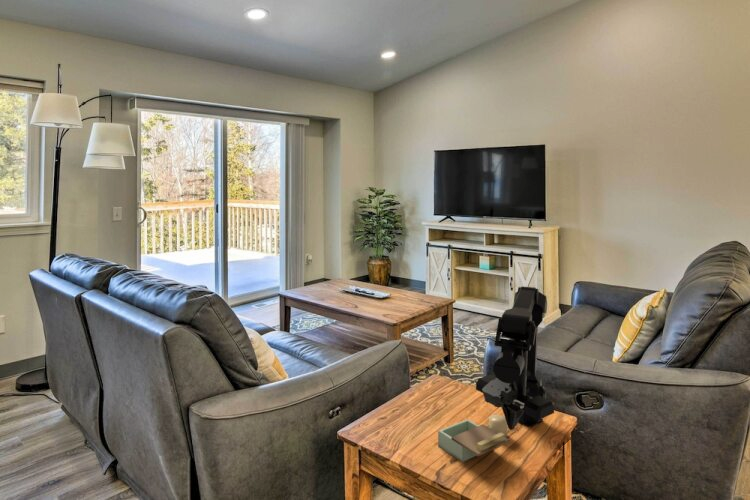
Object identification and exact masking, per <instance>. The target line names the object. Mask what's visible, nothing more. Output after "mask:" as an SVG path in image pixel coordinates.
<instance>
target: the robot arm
mask: <svg viewBox="0 0 750 500" xmlns="http://www.w3.org/2000/svg"><path fill="white" fill-rule="evenodd" d="M547 298H548V297H547V295H545V294H543V293H542V292H540V291H539V289H538V288H536V287H532V286H523V285H522V286H518V289H517V291H516V292H515V293H514V299H513V306H512V308H509V309H506V310H504V311H503V313H502V315H501V317H500V316H499V317H498V321H497V327H496V335H495V339H494V347H501V350H500V353H499V355H498V356H497V358H496V360H495V362H494V363H493V366H492V367H493V368H492V370H493V374H494V375H493V374H488V375H485V376H482V377H479V378H478V379H477V380H476V381H475V391H478V392H479V393H481V394H483V398H484V402H485V403H487V404H488V403H489V404H491V405H493V406H494V407H495V408H501V410H502V413H503V416H504V417H505V419H506V422H507V429H508V430H510V431H513V430H514V429H515V428H516V427H517V424H518V423H521V424H523V425H524V426H526V427H528V428H531V427H533V426H536V425H537V424H540V423H542V422H543V421H544V419H543V418H546V417H549V416H551V415H552V414H555V403H554V401H552V400H550V399H548V398H547V392H546V390H545V387H544V385H542V383H543V381H542V380H543V378H542V376H541V375H540V373H539V372H538V369H537V363H538V362H537V361H538V338H539V336H538V335H539V334H538V333H539V326H540V325H541V323H542V322H543V320H544V317H545V314H547V312H548V310H547V309H548V300H547Z"/></svg>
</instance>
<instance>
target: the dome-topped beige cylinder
mask: <svg viewBox="0 0 750 500" xmlns="http://www.w3.org/2000/svg"><path fill="white" fill-rule="evenodd" d="M488 428H490V429H492V430H494V431H495V432H497V433H501V432H502V433H504V434H505V437H506V438H508V425H507V422H506V419H505V416H504V415H501V414H491V415H490V416H489V417H488Z"/></svg>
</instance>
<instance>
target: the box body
mask: <svg viewBox="0 0 750 500" xmlns="http://www.w3.org/2000/svg"><path fill="white" fill-rule="evenodd" d="M477 426H480V425H478V424H477V423H475V422H473V421H472V420H470V419H464V420H461V421H459V422H457V423H454V424H451V425H449V426H447V427H443V428H442V429H439V430H437V432H438V433H437V446H438V447H439V448H440V449H441V450H443V451H445V452H446V453H448V454H449V455H450V456H452V457H453V458H455V459H457V460H458V462H461V463H464V462H466V461H468V460H470V459H472V458H474V457H477V456H476V455H475V454H473V453H472V452H470V451H469V450H467V449H466V448H464V447H463V446H461V445H459V444H458V443H456V442H455V441H453V440H452V437H453V436H456V435H458V434H461V433H463V432H465V431H468V430H470V429H473V428H475V427H477Z"/></svg>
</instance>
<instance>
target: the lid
mask: <svg viewBox="0 0 750 500" xmlns="http://www.w3.org/2000/svg"><path fill="white" fill-rule="evenodd" d="M452 440H453V441H455V442H456V443H458V444H459V445H461V446H463V447H464V448H466V449H467V450H469V451H470V452H472V453H473V454H475V455H476V456H475V457H480V456H482V455H485V454H486V453H488V452H491V451H493V450H496V449H497V448H500V447H502V446H504V445H506V444H508V443H510V441H511V439H510V438H508V437H507V438H506V437H505V434H504V433H502V432H501V433H497V432H495V431H494V430H492V429H490V428H489V426H487V425H485V424H483V423H482V424H480V425H479V426H477V427H475V428H473V429H470V430H468V431H465V432H463V433H461V434H458V435H456V436H453V437H452Z"/></svg>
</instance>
